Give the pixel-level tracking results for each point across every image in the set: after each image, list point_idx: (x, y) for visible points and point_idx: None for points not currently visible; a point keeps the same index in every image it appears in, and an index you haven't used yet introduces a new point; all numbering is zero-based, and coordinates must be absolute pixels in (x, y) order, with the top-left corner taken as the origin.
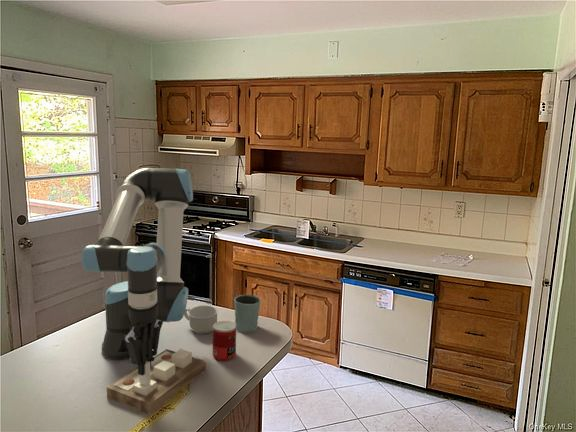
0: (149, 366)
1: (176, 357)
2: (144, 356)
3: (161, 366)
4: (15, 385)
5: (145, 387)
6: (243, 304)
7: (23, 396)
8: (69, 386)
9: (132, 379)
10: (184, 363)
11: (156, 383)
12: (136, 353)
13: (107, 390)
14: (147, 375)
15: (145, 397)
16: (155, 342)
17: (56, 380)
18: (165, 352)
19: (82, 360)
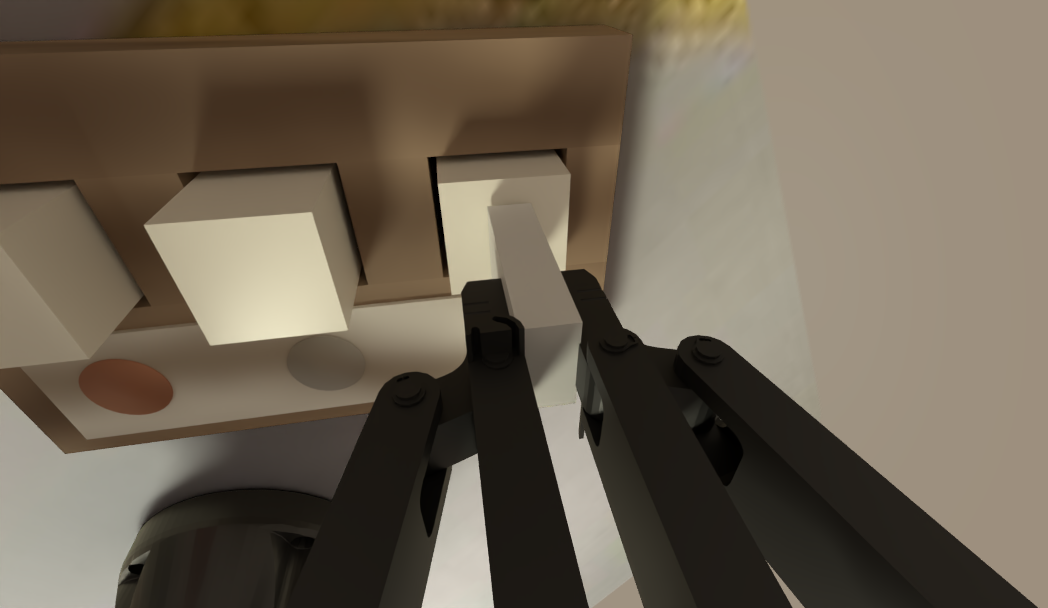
0: (521, 295)
1: (58, 305)
2: (642, 411)
3: (288, 291)
4: None
5: (547, 196)
6: None
7: None
8: (586, 474)
9: None
10: (15, 207)
11: (438, 178)
12: (876, 499)
13: None
14: (537, 246)
15: (577, 138)
16: (390, 579)
17: (578, 516)
18: (98, 429)
19: (443, 557)
